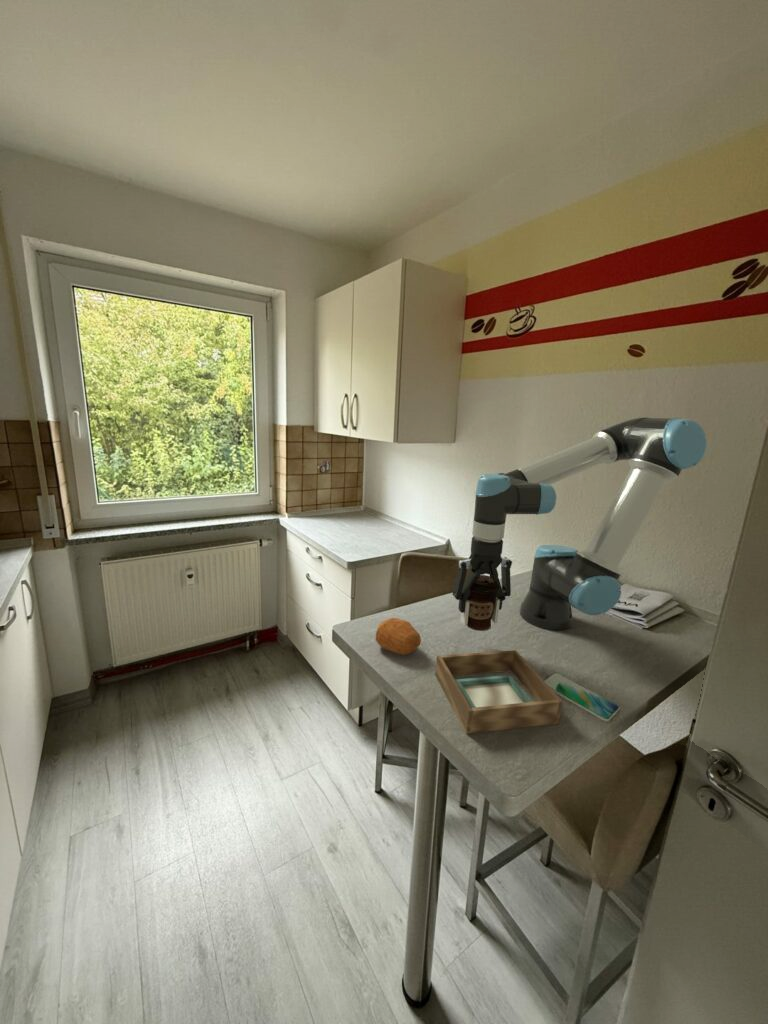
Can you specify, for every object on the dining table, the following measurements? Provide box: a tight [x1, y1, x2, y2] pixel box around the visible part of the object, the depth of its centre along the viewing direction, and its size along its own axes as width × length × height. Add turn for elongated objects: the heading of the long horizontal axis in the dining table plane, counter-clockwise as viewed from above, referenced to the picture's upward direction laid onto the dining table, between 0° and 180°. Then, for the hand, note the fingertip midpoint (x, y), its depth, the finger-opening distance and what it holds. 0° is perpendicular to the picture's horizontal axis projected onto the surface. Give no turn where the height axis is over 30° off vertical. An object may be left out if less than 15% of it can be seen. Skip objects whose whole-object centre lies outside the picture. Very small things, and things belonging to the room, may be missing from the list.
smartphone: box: [542, 672, 620, 723], centre depth 91 cm, size 7×1×15 cm
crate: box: [434, 649, 564, 735], centre depth 88 cm, size 20×18×5 cm
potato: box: [375, 617, 422, 656], centre depth 103 cm, size 9×11×8 cm
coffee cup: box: [466, 574, 499, 632], centre depth 104 cm, size 9×8×13 cm
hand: (478, 621), depth 105 cm, fingers closed on coffee cup, 8 cm apart
